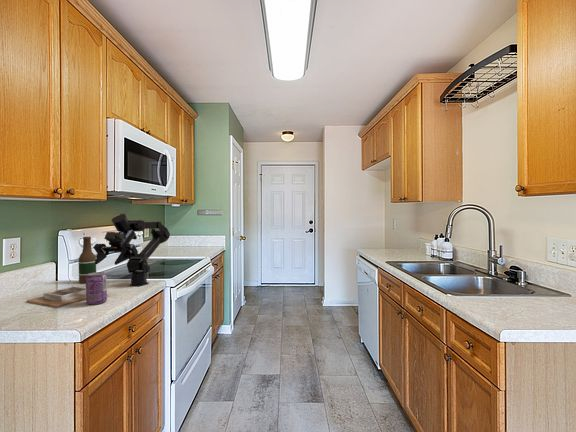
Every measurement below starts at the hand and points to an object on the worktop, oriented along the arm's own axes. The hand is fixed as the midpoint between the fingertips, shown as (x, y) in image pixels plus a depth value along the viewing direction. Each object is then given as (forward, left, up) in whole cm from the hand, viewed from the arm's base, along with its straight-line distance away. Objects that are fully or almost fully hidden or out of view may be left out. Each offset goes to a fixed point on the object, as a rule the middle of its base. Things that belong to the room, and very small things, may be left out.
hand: (105, 263), depth 130 cm
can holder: (+6, -15, -15) cm, 22 cm away
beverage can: (+6, +3, -15) cm, 16 cm away
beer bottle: (-17, -36, -15) cm, 42 cm away
